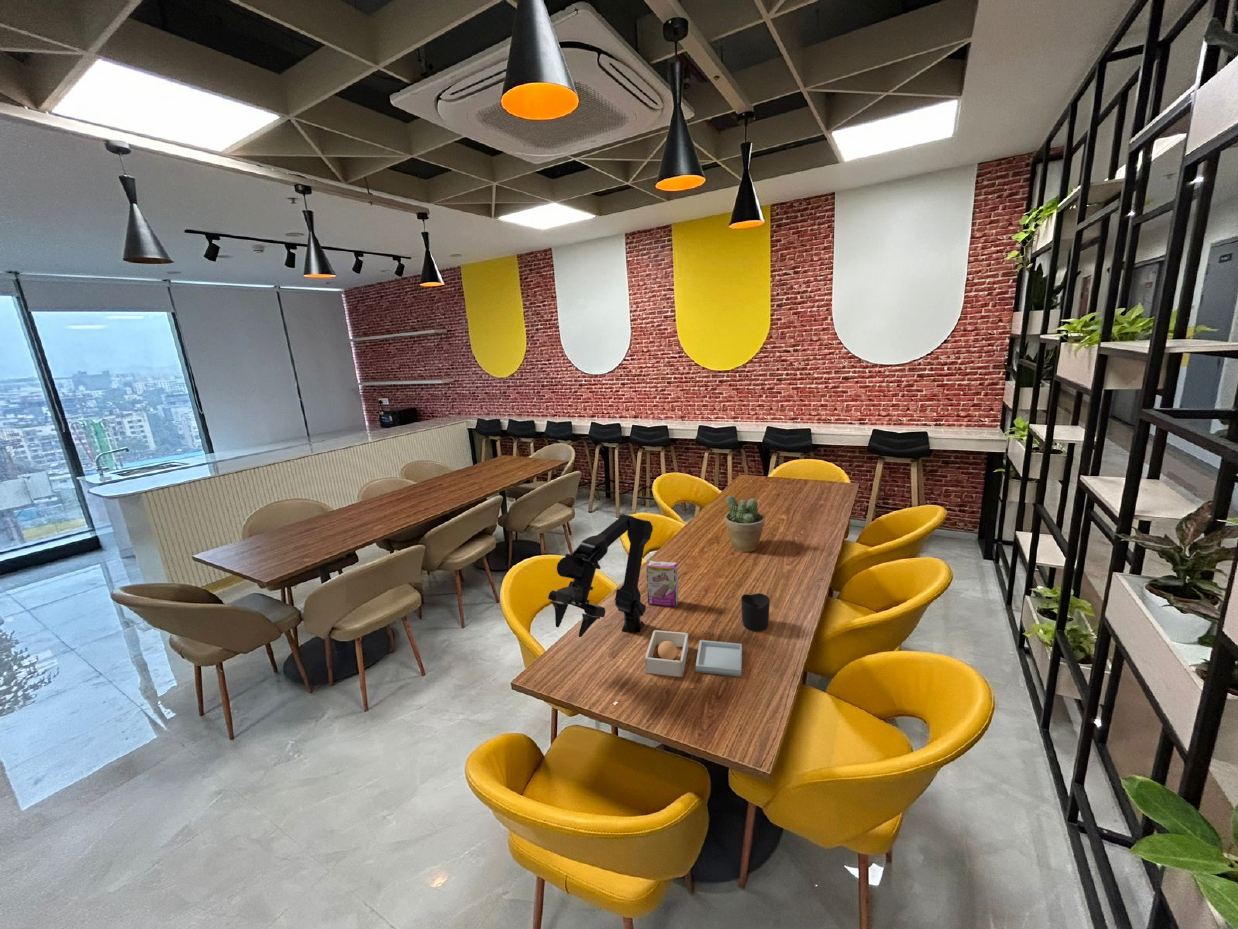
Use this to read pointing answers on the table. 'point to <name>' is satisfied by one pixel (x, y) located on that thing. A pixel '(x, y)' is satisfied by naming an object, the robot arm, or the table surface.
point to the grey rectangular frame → (663, 664)
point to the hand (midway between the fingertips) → (568, 632)
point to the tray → (719, 658)
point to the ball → (667, 650)
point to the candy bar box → (662, 583)
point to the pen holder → (755, 611)
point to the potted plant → (744, 524)
